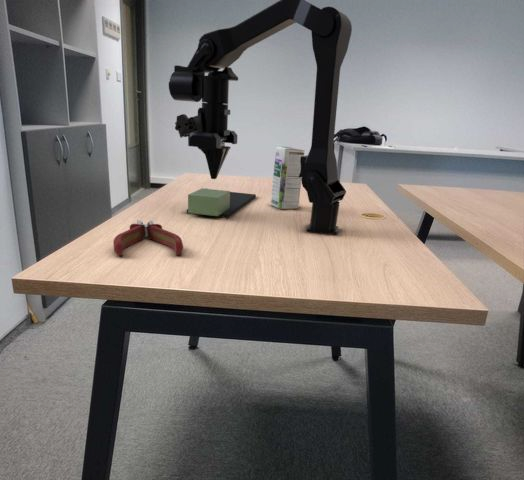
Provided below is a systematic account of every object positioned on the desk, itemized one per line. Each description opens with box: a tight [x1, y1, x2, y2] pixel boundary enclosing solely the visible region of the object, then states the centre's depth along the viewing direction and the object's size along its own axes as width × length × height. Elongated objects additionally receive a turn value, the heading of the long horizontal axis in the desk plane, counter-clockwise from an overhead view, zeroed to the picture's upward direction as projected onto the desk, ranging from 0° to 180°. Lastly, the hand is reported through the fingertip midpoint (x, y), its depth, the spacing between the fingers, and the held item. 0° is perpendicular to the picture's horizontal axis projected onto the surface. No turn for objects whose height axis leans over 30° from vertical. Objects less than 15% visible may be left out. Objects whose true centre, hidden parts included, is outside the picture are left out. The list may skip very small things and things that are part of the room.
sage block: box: [187, 187, 231, 217], centre depth 109 cm, size 4×7×10 cm
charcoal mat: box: [186, 191, 257, 219], centre depth 122 cm, size 30×10×1 cm, turn 168°
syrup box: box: [270, 146, 305, 210], centre depth 121 cm, size 6×6×14 cm
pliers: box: [112, 219, 184, 257], centre depth 86 cm, size 12×20×3 cm, turn 15°
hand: (213, 178), depth 110 cm, fingers closed
